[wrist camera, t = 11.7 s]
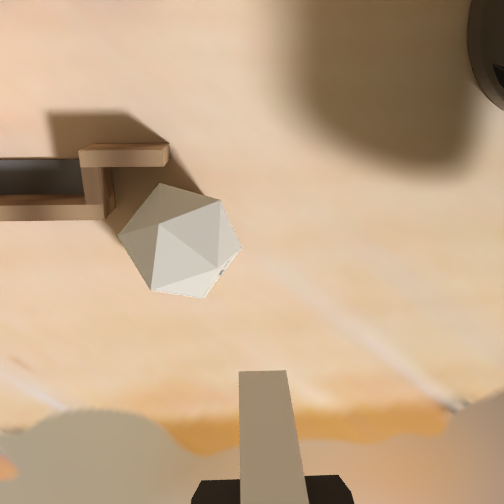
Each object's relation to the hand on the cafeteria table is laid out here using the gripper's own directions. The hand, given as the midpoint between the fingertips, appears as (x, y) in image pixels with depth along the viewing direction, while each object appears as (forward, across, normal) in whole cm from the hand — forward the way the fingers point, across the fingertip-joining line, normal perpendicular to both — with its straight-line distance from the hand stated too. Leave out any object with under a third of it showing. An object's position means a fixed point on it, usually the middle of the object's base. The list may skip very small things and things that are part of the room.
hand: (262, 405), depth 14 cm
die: (+25, +5, +2) cm, 25 cm away
